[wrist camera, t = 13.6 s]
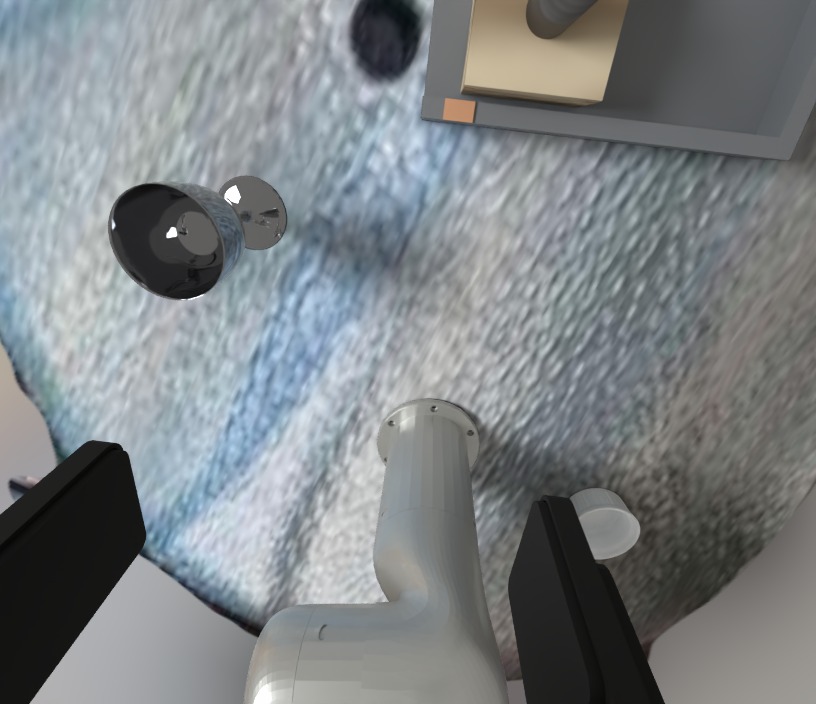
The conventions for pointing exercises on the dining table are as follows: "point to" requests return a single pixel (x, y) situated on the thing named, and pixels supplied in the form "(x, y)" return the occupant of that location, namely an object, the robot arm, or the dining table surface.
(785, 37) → the bay
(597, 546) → the ramekin
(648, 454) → the dining table surface
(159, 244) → the wine glass
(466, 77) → the rubber stamp
